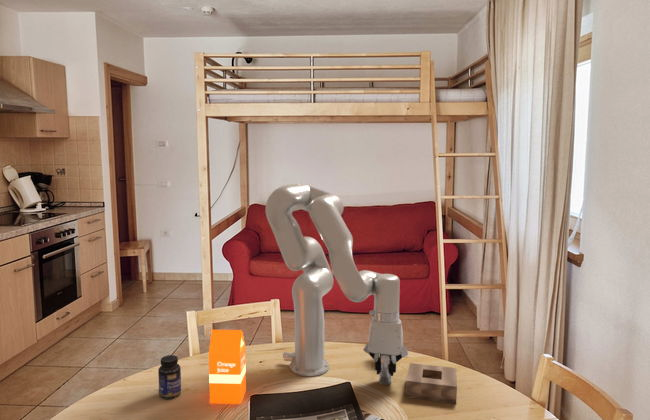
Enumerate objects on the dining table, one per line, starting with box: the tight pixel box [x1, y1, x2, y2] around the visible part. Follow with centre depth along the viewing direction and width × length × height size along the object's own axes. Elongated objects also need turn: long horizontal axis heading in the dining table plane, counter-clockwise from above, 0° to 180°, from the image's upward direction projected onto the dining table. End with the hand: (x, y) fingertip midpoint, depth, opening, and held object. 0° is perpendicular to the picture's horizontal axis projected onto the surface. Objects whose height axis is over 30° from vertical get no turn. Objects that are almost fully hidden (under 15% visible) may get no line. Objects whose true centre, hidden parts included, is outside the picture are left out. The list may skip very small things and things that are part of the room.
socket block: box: [405, 362, 458, 405], centre depth 145 cm, size 14×12×5 cm
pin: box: [378, 354, 392, 385], centre depth 150 cm, size 4×4×11 cm
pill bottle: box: [157, 354, 182, 400], centre depth 141 cm, size 6×6×11 cm
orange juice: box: [208, 329, 247, 405], centre depth 139 cm, size 8×9×20 cm
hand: (385, 372), depth 150 cm, fingers closed on pin, 3 cm apart
